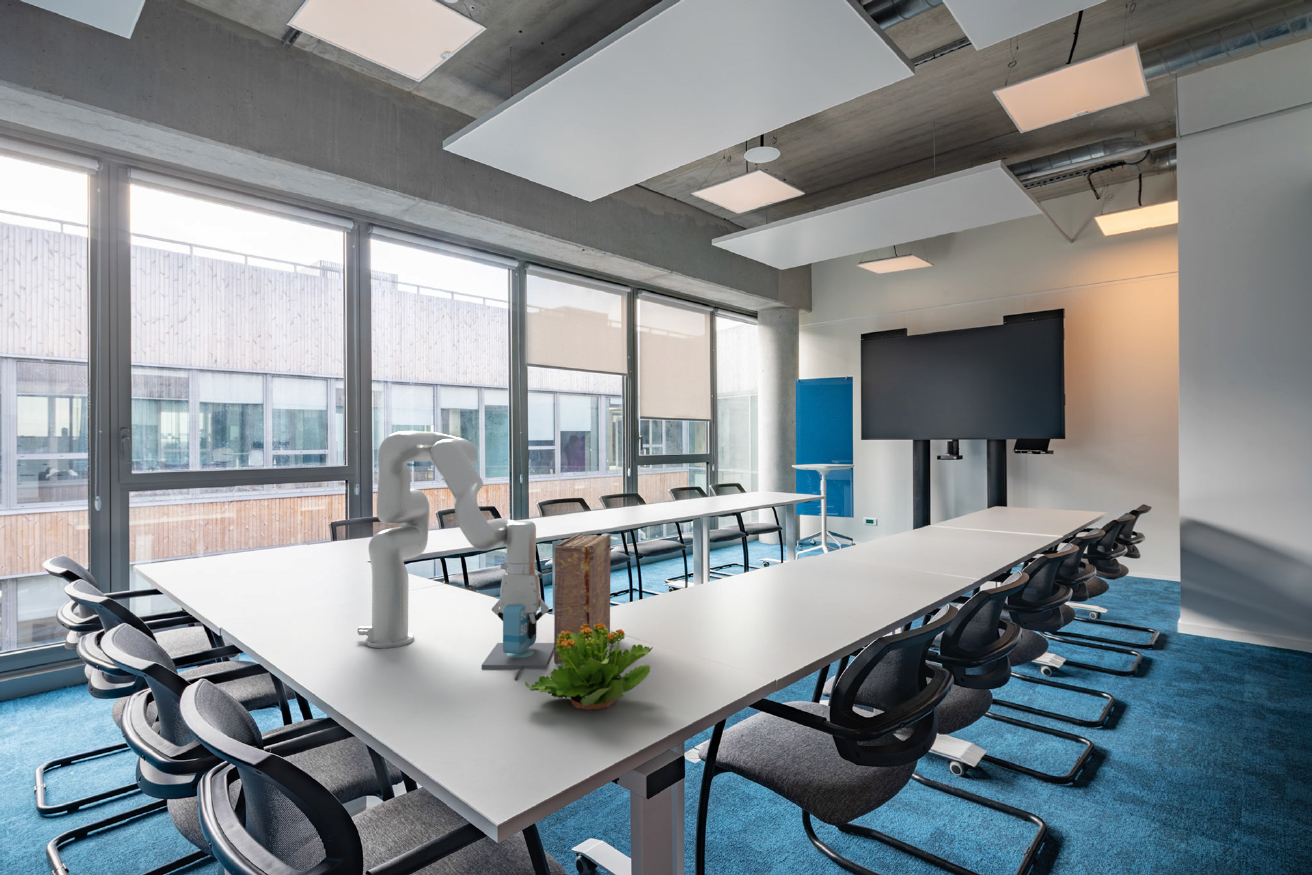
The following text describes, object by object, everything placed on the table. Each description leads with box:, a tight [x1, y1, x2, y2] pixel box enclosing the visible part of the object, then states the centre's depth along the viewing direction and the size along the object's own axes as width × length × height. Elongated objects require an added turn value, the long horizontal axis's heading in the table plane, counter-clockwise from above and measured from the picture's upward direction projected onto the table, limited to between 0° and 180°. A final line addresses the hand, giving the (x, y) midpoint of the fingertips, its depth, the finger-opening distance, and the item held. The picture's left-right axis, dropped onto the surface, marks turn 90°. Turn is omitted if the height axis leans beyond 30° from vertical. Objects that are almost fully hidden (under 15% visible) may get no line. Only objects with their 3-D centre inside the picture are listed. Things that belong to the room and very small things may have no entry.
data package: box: [502, 605, 538, 654], centre depth 173 cm, size 12×4×12 cm, turn 169°
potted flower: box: [524, 623, 654, 711], centre depth 144 cm, size 25×24×18 cm
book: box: [553, 532, 612, 664], centre depth 180 cm, size 25×9×30 cm, turn 172°
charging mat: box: [481, 642, 554, 681], centre depth 169 cm, size 16×26×1 cm, turn 1°
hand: (520, 636), depth 173 cm, fingers closed on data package, 5 cm apart
